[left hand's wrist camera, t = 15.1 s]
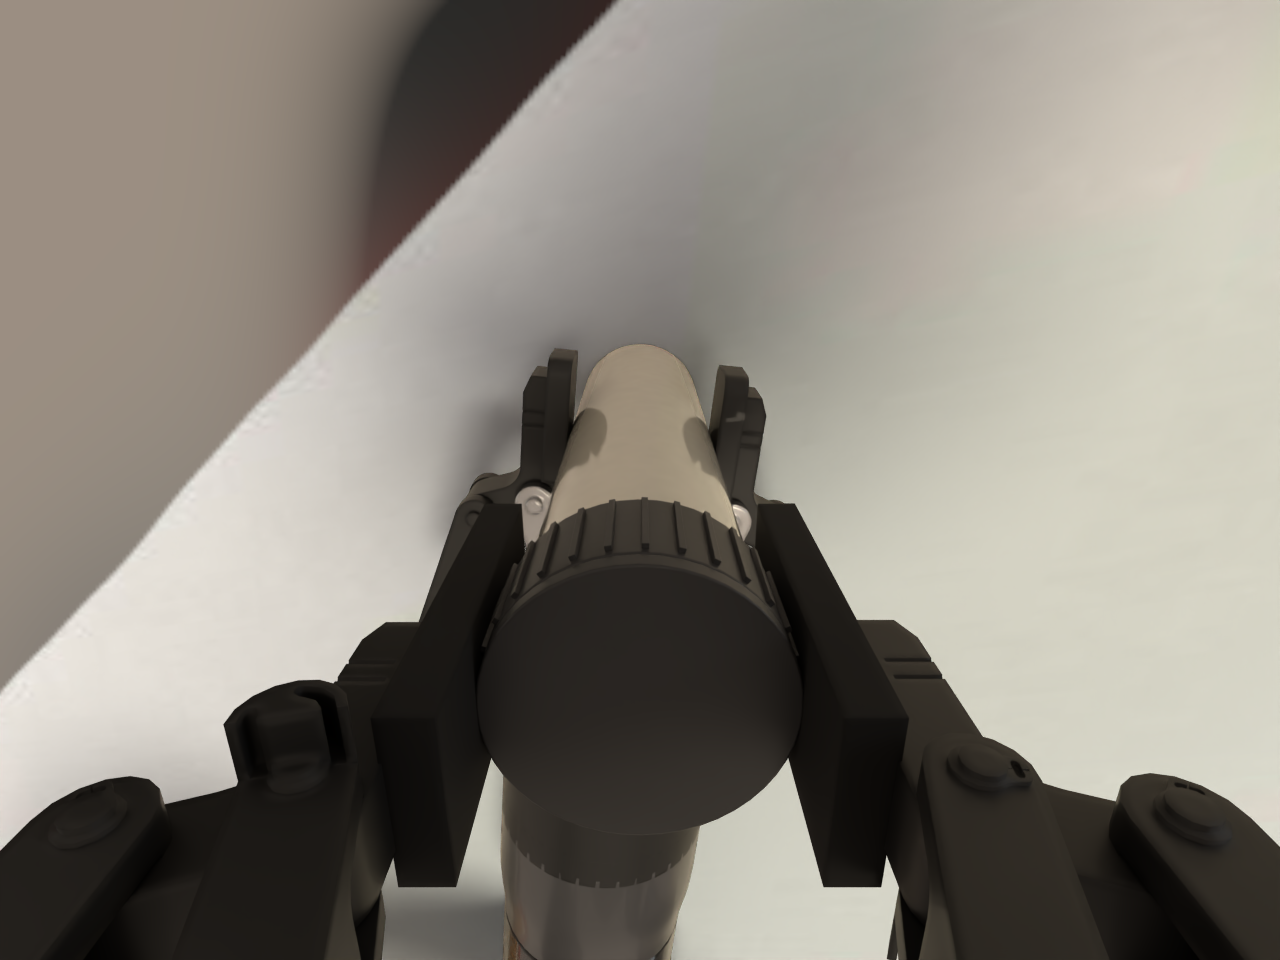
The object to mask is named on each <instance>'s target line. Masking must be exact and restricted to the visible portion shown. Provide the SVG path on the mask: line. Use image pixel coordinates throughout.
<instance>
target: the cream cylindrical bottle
mask: <svg viewBox="0 0 1280 960" xmlns="http://www.w3.org/2000/svg"><path fill="white" fill-rule="evenodd" d="M642 497H648V500H659V501H665V502H670V503H674V501H678V502H680V504H681V505H683V506H686V507H689V508H692V509H695V510H697V511H700V512H702V513H704V511H707V512H709V513H710V514H711V517H712V518H714V519H716V520H717V521H719V522H721V523H722V524H724V525H725V526H727V527H728V528H729V529H730V528H731V527H733V528H735V529H736V530H737V534H738V536H739V537H740V538H741V539H742V540H743V538H742V535H741V532H740V529H739V525H738V522H737V519H736V516H735V513H734V510H733V506H732V503H731V500H730V497H729V494H728V491H727V487H726V484H725V481H724V478H723V475H722V472H721V469H720V465H719V462H718V459H717V456H716V453H715V450H714V446H713V443H712V440H711V437H710V434H709V431H708V427H707V424H706V421H705V418H704V415H703V412H702V409H701V405H700V402H699V399H698V396H697V393H696V390H695V386H694V383H693V381H692V378H691V376H690V374H689V372H688V370H687V369H686V367H685V366H684V365H683V363H682V362H681V361H680V360H679V359H678V358H676V357H675V356H674V355H673V354H671V353H670V352H668V351H666V350H664V349H662V348H659V347H656V346H653V345H646V344H634V345H628V346H623V347H621V348H618V349H616V350H614V351H612V352H610V353H609V354H607V355H606V356H605V357H603V358H602V359H601V360H600V361H599V362H598V363H597V364H596V366H595V367H594V368H593V370H592V372H591V373H590V375H589V378H588V380H587V383H586V386H585V389H584V392H583V395H582V399H581V402H580V405H579V408H578V411H577V414H576V417H575V421H574V424H573V427H572V430H571V433H570V436H569V439H568V443H567V446H566V449H565V452H564V455H563V458H562V461H561V464H560V468H559V471H558V474H557V477H556V480H555V483H554V486H553V490H552V493H551V496H550V499H549V502H548V505H547V508H546V512H545V515H544V518H543V521H542V524H541V527H540V530H539V534H538V537H537V539H538V538H539V537H541V536H542V535H543V534H544V533H545V532H546V531H548V530H549V528H550V525H551V524H552V523H553V522H555V521H556V522H557V523H559V522H561V521H562V520H564V519H565V518H567V517H569V516H571V515H573V514H575V513H577V512H578V509H580V508H582V507H584V509H587V508H591V507H594V506H597V505H600V504H604V503H609V500H611V499H615V500H616V501H621V500H635V499H641V498H642Z"/></svg>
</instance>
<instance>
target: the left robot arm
mask: <svg viewBox="0 0 1280 960" xmlns="http://www.w3.org/2000/svg"><path fill="white" fill-rule="evenodd" d="M755 549H756V550H757V552H758V555H759V557H760V560H761V563H762V566H763V568H764V570H765V572H767V571H770V572H771V574H772V576H773V579H774V582H775V585H776V587H777V590H778V593H779V596H780V598H781V601H782V604H783V607H784V609H785V612H786V615H787V617H788V620H789V623H790V626H791V628H792V632H791V635H792V638H793V640H794V643H795V646H796V649H797V651H798V654H799V659H798V664H799V667H800V671H801V675H802V681H803V687H804V701H803V711H802V721H801V727H800V730H799V733H798V736H797V739H796V742H795V745H794V747H793V749H792V751H791V753H790V755H789V757H788V758H789V762H790V766H791V769H792V773H793V777H794V780H795V784H796V788H797V791H798V795H799V799H800V802H801V806H802V810H803V813H804V817H805V821H806V824H807V828H808V832H809V835H810V839H811V843H812V846H813V850H814V854H815V857H816V861H817V865H818V868H819V872H820V876H821V879H822V883H823V887H881V885H882V879H883V873H884V867H885V861H886V855H887V857H888V860H889V862H890V865H891V868H892V870H893V873H894V875H895V878H896V881H897V883H898V886H899V891H898V897H897V902H896V908H895V913H894V919H893V925H892V930H891V936H890V941H889V948H888V955H887V959H889V960H896V959H897V953H898V959H899V960H1280V847H1279V846H1278V845H1277V844H1276V843H1275V842H1274V841H1273V840H1272V839H1271V838H1270V837H1269V836H1268V835H1267V834H1266V833H1265V832H1264V831H1263V830H1262V829H1261V828H1260V827H1259V826H1258V825H1257V824H1256V823H1255V822H1254V821H1253V820H1252V819H1251V818H1250V817H1249V816H1248V815H1246V814H1245V813H1244V812H1243V811H1241V810H1240V809H1239V808H1238V807H1236V806H1235V805H1234V804H1233V803H1231V802H1230V801H1229V800H1227V799H1225V798H1223V797H1222V796H1220V795H1218V794H1216V793H1214V792H1212V791H1210V790H1209V789H1207V788H1205V787H1203V786H1201V785H1198V784H1195V783H1192V782H1189V781H1186V780H1183V779H1180V778H1177V777H1175V776H1167V775H1160V774H1152V773H1148V774H1142V775H1136V776H1131V777H1130V778H1129V779H1128V780H1127V781H1125V782H1124V783H1123V784H1122V785H1121V787H1120V790H1119V793H1118V796H1117V800H1116V802H1115V801H1111V800H1107V799H1103V798H1098V797H1094V796H1090V795H1085V794H1081V793H1077V792H1072V791H1068V790H1064V789H1060V788H1057V787H1054V786H1050V785H1047V784H1044V783H1043V782H1042V780H1041V779H1040V777H1039V776H1038V774H1037V772H1036V771H1035V769H1034V768H1033V766H1032V765H1031V764H1030V763H1029V762H1028V761H1026V760H1025V759H1024V758H1023V757H1022V756H1020V755H1019V754H1018V753H1017V752H1016V751H1014V750H1012V749H1011V748H1009V747H1007V746H1005V745H1003V744H1001V743H999V742H997V741H995V740H992V739H989V738H985V737H983V736H982V735H981V733H980V732H979V730H978V729H977V727H976V726H975V724H974V723H973V721H972V720H971V718H970V717H969V715H968V713H967V712H966V710H965V709H964V707H963V706H962V704H961V703H960V701H959V700H958V698H957V697H956V695H955V694H954V692H953V691H952V689H951V688H950V686H949V684H948V683H947V681H946V680H945V679H942V674H941V672H940V671H939V669H938V668H937V666H936V665H935V663H934V662H931V657H930V656H929V654H928V652H927V651H926V649H925V648H924V646H923V645H922V643H921V642H920V640H919V639H918V637H916V636H915V635H914V634H912V633H911V632H909V631H908V630H907V629H905V628H904V627H903V626H901V625H900V624H899V623H897V622H896V621H894V620H857V619H856V617H855V616H854V614H853V612H852V610H851V608H850V606H849V604H848V602H847V601H846V599H845V597H844V595H843V593H842V591H841V589H840V588H839V586H838V584H837V582H836V580H835V578H834V576H833V574H832V573H831V571H830V569H829V567H828V565H827V563H826V561H825V559H824V558H823V556H822V554H821V552H820V550H819V548H818V546H817V544H816V543H815V541H814V539H813V537H812V535H811V533H810V531H809V529H808V528H807V526H806V524H805V522H804V520H803V518H802V516H801V514H800V513H799V511H798V509H797V507H796V505H795V504H758V508H757V523H756V539H755ZM524 555H525V545H524V530H523V514H522V504H484V506H483V508H482V510H481V512H480V514H479V516H478V517H477V519H476V521H475V523H474V525H473V527H472V529H471V531H470V532H469V534H468V536H467V538H466V540H465V542H464V544H463V545H462V547H461V549H460V551H459V553H458V555H457V557H456V559H455V560H454V562H453V564H452V566H451V568H450V570H449V572H448V574H447V575H446V577H445V579H444V581H443V583H442V585H441V587H440V589H439V590H438V592H437V594H436V596H435V598H434V600H433V602H432V604H431V605H430V607H429V609H428V611H427V613H426V615H425V617H424V618H423V620H422V622H386V623H384V624H383V625H382V626H380V627H379V628H377V629H376V630H375V631H373V632H372V633H371V634H369V635H368V636H367V637H365V638H364V639H363V640H362V641H361V642H360V644H359V645H358V647H357V648H356V650H355V652H354V653H353V655H352V656H351V658H350V659H349V664H346V665H345V667H344V668H343V670H342V672H341V673H340V675H339V676H338V681H335V682H334V684H333V683H329V682H326V681H322V680H298V681H294V682H290V683H286V684H282V685H277V686H274V687H272V688H270V689H267V690H265V691H263V692H261V693H259V694H256V695H254V696H252V697H251V698H250V699H248V700H247V701H245V702H244V703H243V704H241V705H240V706H239V707H237V708H236V709H235V710H234V711H233V712H232V714H231V715H230V716H229V718H228V719H227V720H226V722H225V723H224V724H223V725H224V728H225V732H226V736H227V740H228V744H229V748H230V752H231V756H232V759H233V763H234V767H235V771H236V775H237V779H238V784H237V786H236V787H232V788H229V789H226V790H223V791H219V792H216V793H211V794H207V795H203V796H199V797H194V798H190V799H186V800H181V801H177V802H173V803H168V804H164V801H163V798H162V795H161V792H160V788H158V787H157V786H156V785H155V784H154V783H153V782H151V781H150V780H149V779H144V778H138V777H132V776H128V777H121V778H113V779H106V780H103V781H100V782H97V783H94V784H91V785H89V786H86V787H83V788H80V789H78V790H76V791H74V792H72V793H70V794H68V795H67V796H65V797H63V798H61V799H59V800H57V801H56V802H54V803H52V804H51V805H49V806H48V807H47V808H46V809H44V810H43V811H42V812H41V813H39V814H38V815H37V816H36V817H34V818H33V819H32V820H31V821H30V822H29V823H28V824H27V825H26V826H25V827H24V828H23V829H22V830H21V831H20V832H19V833H18V834H17V835H16V836H15V837H14V838H13V839H12V840H11V841H10V842H9V843H8V844H7V845H6V846H5V847H4V848H3V849H2V850H1V851H0V960H382V950H383V940H384V929H385V918H386V916H385V909H384V902H383V897H382V891H381V888H382V886H383V883H384V880H385V878H386V875H387V873H388V870H389V867H390V865H391V862H392V860H393V858H394V864H395V870H396V876H397V882H398V887H456V885H457V882H458V878H459V874H460V871H461V867H462V863H463V860H464V856H465V852H466V849H467V845H468V841H469V838H470V834H471V830H472V827H473V823H474V819H475V816H476V812H477V808H478V805H479V801H480V797H481V794H482V790H483V786H484V783H485V779H486V775H487V772H488V768H489V764H490V761H491V756H490V754H489V752H488V750H487V748H486V746H485V744H484V741H483V738H482V735H481V733H480V730H479V724H478V716H477V706H476V684H477V676H478V672H479V669H480V666H481V662H482V659H483V656H484V652H481V651H480V649H481V646H482V643H483V640H484V637H485V635H486V632H487V629H488V627H489V624H490V621H491V618H492V616H493V613H494V610H495V607H496V605H497V602H498V599H499V597H500V594H501V591H502V589H504V586H505V583H506V581H507V578H508V575H509V572H510V570H511V567H512V565H513V564H514V563H515V564H517V565H518V564H519V562H520V561H521V559H522V558H523V556H524Z"/></svg>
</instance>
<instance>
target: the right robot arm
mask: <svg viewBox="0 0 1280 960" xmlns="http://www.w3.org/2000/svg"><path fill="white" fill-rule="evenodd" d="M577 362H578V351H577V350H567V349H557V348H555V349H554V350H553V352H552V353H551V355H550V357H549V361H548V367H544V366H537V368H536V369H535V371H534V372H533V373H532V375H531V377H530V379H529V381H528V383H527V385H526V387H525V390H524V392H523V413H522V438H521V463H520V468H519V469H517V470H516V471H514V472H511V473H507V474H503V475H497V474H494V473H485V474H482V475H480V476H478V477H477V478H476V480H475V481H474V483H473V484H472V486H471V488H470V491H469V494H468V495H467V497H466V498H465V499H464V500H463V501H462V502H461V504H460V505H459V507H458V508H457V510H456V513H455V516H454V519H453V522H452V525H451V528H450V531H449V534H448V537H447V540H446V543H445V545H444V548H443V551H442V554H441V557H440V560H439V563H438V566H437V569H436V572H435V575H434V578H433V581H432V584H431V587H430V590H429V593H428V596H427V599H426V602H425V605H424V608H423V611H422V614H421V617H420V620H419V622H422V620H423V618H424V617H425V615H426V613H427V611H428V609H429V607H430V605H431V604H432V602H433V600H434V598H435V596H436V594H437V592H438V590H439V589H440V587H441V585H442V583H443V581H444V579H445V577H446V575H447V574H448V572H449V570H450V568H451V566H452V564H453V562H454V560H455V559H456V557H457V555H458V553H459V551H460V549H461V547H462V545H463V544H464V542H465V540H466V538H467V536H468V534H469V532H470V531H471V529H472V527H473V525H474V523H475V521H476V519H477V517H478V516H479V514H480V512H481V510H482V508H483V506H484V504H522V514H523V530H524V540H525V544H526V547H527V546H528V543H529V542H530V541H531V540H532V541H534V542H535V541H536V540H537V537H538V534H539V530H540V527H541V524H542V521H543V518H544V515H545V512H546V508H547V505H548V502H549V499H550V496H551V493H552V490H553V486H554V483H555V480H556V477H557V474H558V471H559V468H560V464H561V461H562V458H563V455H564V452H565V449H566V446H567V443H568V439H569V436H570V433H571V430H572V427H573V422H574V407H575V392H576V377H577ZM765 420H766V413H765V409H764V404H763V400H762V398H761V396H760V395H759V393H758V392H757V390H756V389H755V388H753V387H749V378H748V376H747V374H746V373H745V371H744V370H743V368H742V367H733V366H723V365H719V367H718V371H717V376H716V383H715V391H714V398H713V405H712V412H711V419H710V426H709V434H710V437H711V440H712V443H713V446H714V450H715V453H716V456H717V459H718V462H719V465H720V469H721V472H722V475H723V478H724V481H725V484H726V487H727V491H728V494H729V497H730V500H731V503H732V506H733V510H734V513H735V516H736V519H737V522H738V525H739V529H740V532H741V535H742V538H743V541H744V542H745V543H746V544H748V545H750V546H752V547H755V539H756V523H757V508H758V504H784V503H783V502H781V501H778V500H767V499H765V498H762V497H760V496H758V495H757V494H755V493H754V485H755V479H756V473H757V468H758V462H759V456H760V450H761V449H760V448H761V444H762V438H763V432H764V426H765ZM699 828H700V826H697V827H693V828H690V829H686V830H682V831H677V832H670V833H664V834H652V835H626V834H616V833H609V832H602V831H598V830H594V829H590V828H586V827H582V826H579V825H577V824H574V823H571V822H568V821H565V820H563V819H561V818H559V817H557V816H555V815H553V814H551V813H549V812H547V811H545V810H544V809H542V808H541V807H539V806H538V805H536V804H534V803H533V802H531V801H530V800H529V799H528V798H526V797H525V796H524V795H523V794H522V793H520V792H519V791H518V790H517V789H516V788H515V787H514V786H513V785H512V784H511V783H510V782H509V781H508V780H507V779H506V778H505V777H504V775H503V800H502V827H501V868H502V877H503V884H504V890H505V912H504V936H503V960H671V953H672V946H673V940H674V934H675V928H676V922H677V917H678V913H679V910H680V907H681V905H682V902H683V900H684V897H685V894H686V891H687V888H688V885H689V881H690V877H691V873H692V868H693V863H694V857H695V851H696V846H697V840H698V834H699Z"/></svg>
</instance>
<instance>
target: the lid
mask: <svg viewBox="0 0 1280 960" xmlns="http://www.w3.org/2000/svg"><path fill="white" fill-rule="evenodd" d="M791 632H792V628H791V626H790V623H789V620H788V617H787V615H786V612H785V609H784V607H783V604H782V601H781V598H780V596H779V593H778V590H777V587H776V585H775V582H774V579H773V576H772V574H771V572H770V571H767V572H765V570H764V568H763V566H762V563H761V560H760V557H759V555H758V552H757V550H756V549H755V547H753V548H751V549H750V547H749V546H748V545H747V544H746V543H745V542H744V541H743V540H742V539H741V538H740V537H739V536H738V534H737V530H736V529H735V528H733V527H731V528H730V529H729V528H728V527H727V526H725V525H724V524H722V523H721V522H719V521H717V520H716V519H714V518H712V517H711V514H710V513H709V512H707V511H704V513H702V512H700V511H697V510H695V509H692V508H689V507H686V506H683V505H681V504H680V502H678V501H674V503H670V502H665V501H659V500H648V497H642V498H641V499H635V500H621V501H616V500H615V499H611V500H609V503H604V504H600V505H597V506H594V507H591V508H587V509H584V507H582V508H580V509H578V512H577V513H575V514H573V515H571V516H569V517H567V518H565V519H564V520H562V521H561V522H559V523H557V522H556V521H555V522H553V523H552V524H551V525H550V528H549V530H548V531H546V532H545V533H544V534H543V535H542V536H541V537H539V538H538V539H537V540H536V541H535V542H534V541H532V540H531V541H530V542H529V543H528V546H527V549H526V552H525V555H524V556H523V558H522V559H521V561H520V562H519V564H518V565H517V564H515V563H514V564H513V565H512V567H511V570H510V572H509V575H508V578H507V581H506V583H505V586H504V589H502V591H501V594H500V597H499V599H498V602H497V605H496V607H495V610H494V613H493V616H492V618H491V621H490V624H489V627H488V629H487V632H486V635H485V637H484V640H483V643H482V646H481V649H480V651H481V652H484V656H483V659H482V662H481V666H480V669H479V672H478V676H477V684H476V706H477V716H478V724H479V730H480V733H481V735H482V738H483V741H484V744H485V746H486V748H487V750H488V752H489V754H490V756H491V758H492V760H493V761H494V763H495V764H496V766H497V767H498V768H499V770H500V771H501V773H502V774H503V775H504V777H505V778H506V779H507V780H508V781H509V782H510V783H511V784H512V785H513V786H514V787H515V788H516V789H517V790H518V791H519V792H520V793H522V794H523V795H524V796H525V797H526V798H528V799H529V800H530V801H531V802H533V803H534V804H536V805H538V806H539V807H541V808H542V809H544V810H545V811H547V812H549V813H551V814H553V815H555V816H557V817H559V818H561V819H563V820H565V821H568V822H571V823H574V824H577V825H579V826H582V827H586V828H590V829H594V830H598V831H602V832H609V833H616V834H626V835H652V834H664V833H670V832H677V831H682V830H686V829H690V828H693V827H697V826H700V825H703V824H706V823H708V822H711V821H714V820H716V819H719V818H720V817H722V816H724V815H726V814H728V813H730V812H732V811H734V810H736V809H737V808H739V807H740V806H742V805H743V804H745V803H746V802H748V801H749V800H751V799H752V798H753V797H754V796H756V795H757V794H758V793H759V792H760V791H761V790H763V789H764V788H765V787H766V786H767V785H768V783H769V782H770V781H771V780H772V779H773V778H774V777H775V776H776V775H777V773H778V772H779V771H780V769H781V768H782V766H783V765H784V763H785V762H786V760H787V759H788V757H789V755H790V753H791V751H792V749H793V747H794V745H795V742H796V739H797V736H798V733H799V730H800V727H801V721H802V711H803V701H804V687H803V681H802V675H801V671H800V667H799V664H798V659H799V654H798V651H797V649H796V646H795V643H794V640H793V638H792V635H791Z"/></svg>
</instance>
